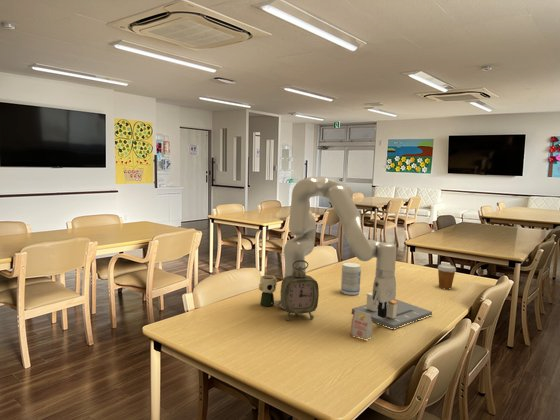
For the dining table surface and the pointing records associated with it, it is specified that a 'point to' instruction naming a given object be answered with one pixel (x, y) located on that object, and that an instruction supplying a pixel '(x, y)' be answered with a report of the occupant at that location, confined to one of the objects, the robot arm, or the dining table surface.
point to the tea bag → (361, 325)
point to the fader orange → (392, 309)
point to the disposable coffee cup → (446, 275)
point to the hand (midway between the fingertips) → (381, 316)
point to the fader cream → (370, 303)
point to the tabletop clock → (299, 293)
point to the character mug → (267, 289)
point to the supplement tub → (350, 278)
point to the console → (397, 314)
